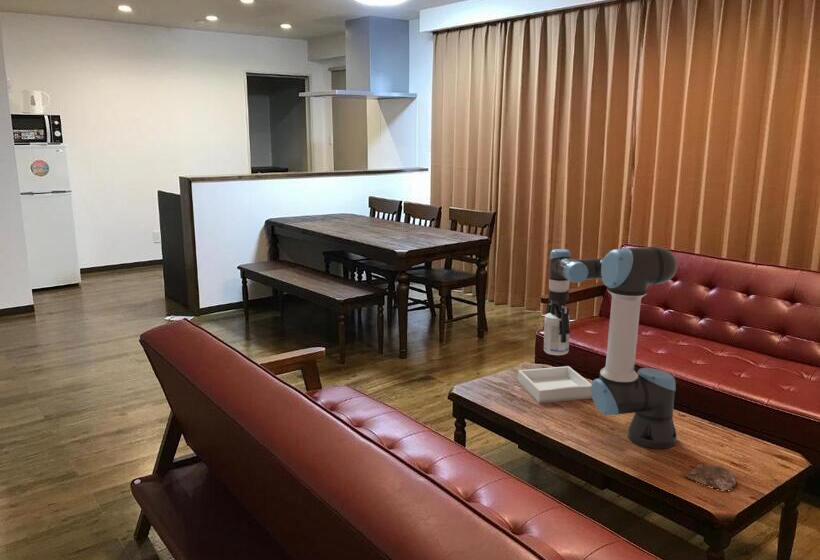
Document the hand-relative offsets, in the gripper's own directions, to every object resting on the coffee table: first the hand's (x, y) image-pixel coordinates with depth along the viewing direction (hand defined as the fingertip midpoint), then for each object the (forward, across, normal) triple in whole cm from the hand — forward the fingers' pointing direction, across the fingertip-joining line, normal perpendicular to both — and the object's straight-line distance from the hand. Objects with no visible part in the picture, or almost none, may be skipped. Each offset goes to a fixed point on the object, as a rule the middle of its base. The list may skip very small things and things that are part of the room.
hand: (556, 345), depth 254 cm
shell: (+19, -73, -17) cm, 78 cm away
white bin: (+18, 0, 0) cm, 18 cm away
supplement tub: (+3, 0, 0) cm, 3 cm away
